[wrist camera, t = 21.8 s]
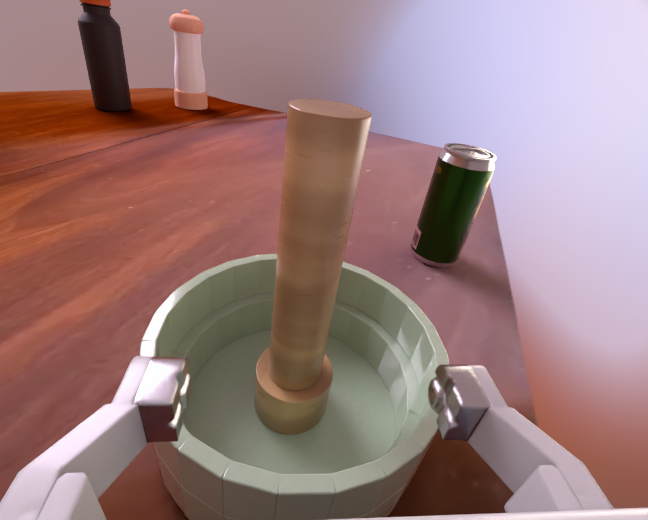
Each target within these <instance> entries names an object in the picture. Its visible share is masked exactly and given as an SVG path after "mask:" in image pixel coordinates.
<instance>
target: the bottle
mask: <svg viewBox="0 0 648 520" xmlns="http://www.w3.org/2000/svg"><path fill="white" fill-rule="evenodd" d="M80 2H82V4H81V5H82V6H83V10H84V13H83V14H82V15H81V17H80V18H79V19H78V25H79V30H80V35H81V40H82V45H83V50H84V55H85V60H86V65H87V69H88V75H89V80H90V84H91V89H92V94H93V99H94V104H95V107H96V108H97V109H100V110H104V111H112V112H121V111H128V110H130V109H131V108H132V105H131V98H130V92H129V85H128V79H127V72H126V65H125V58H124V52H123V45H122V38H121V31H120V27H119V25H118V23H117V22H115V20H114V19H113V18H112V17H111V15H110V8H109V6H111V3H110V0H80Z"/></svg>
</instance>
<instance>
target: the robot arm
mask: <svg viewBox="0 0 648 520" xmlns="http://www.w3.org/2000/svg"><path fill="white" fill-rule="evenodd" d="M188 370H189V359H188V358H172V357H149V356H135V357H134V358H133V359H132V361H131V363H130V365H129V367H128V369H127V371H126V373H125V376H124V378H123V380H122V382H121V384H120V386H119V388H118V390H117V393H116V395H115V397H114V399H113V401H112V403H111V404H105V405H104V406H103V407H101V408H100V409H99V410H97V411H96V412H95V413H94V414H92V415H91V416H90V417H88V418H87V419H86V420H85V421H83V422H82V423H81V424H79V425H78V426H77V427H76V428H74V429H73V430H72V431H71V432H69V433H68V434H67V435H65V436H64V437H63V438H62V439H60V440H59V441H58V442H56V443H55V444H54V445H53V446H51V447H50V448H49V449H47V450H46V451H45V452H44V453H42V454H41V455H40V456H38V457H37V458H36V459H35V460H33V461H32V462H31V463H29V464H28V465H27V466H26V467H24V468H23V469H22V470H21V471H19V472H18V474H17V476H16V477H15V479H14V481H13V482H12V484H11V486H10V487H9V489H8V491H7V492H6V494H5V496H4V497H3V499H2V500H1V502H0V520H106V518H105V515H104V513H103V511H102V508H101V506H100V504H99V502H98V498H99V497H100V496H101V495H102V494H103V493H104V492H105V490H106V489H107V488H108V487H109V486H110V485H111V484H112V483H113V482H114V481H115V479H116V478H117V477H118V476H119V475H120V474H121V473H122V472H123V471H124V469H125V468H126V467H127V466H128V465H129V464H130V463H131V462H132V461H133V459H134V458H135V457H136V456H137V455H138V454H139V453H140V452H141V451H142V449H143V448H144V447H145V446H146V445H147V442H172V441H178V439H179V435H180V431H181V428H182V424H183V412H182V411H183V410H184V409H185V408H186V407H187V405H188V401H189V397H190V390H191V376H190V375H189V374H188ZM435 373H436V376H437V377H435V378H434V379H432V380H431V381H430V384H429V386H428V399H429V403H430V406H431V409H433V410H434V411H435V412H436V413H437V414H438V417H437V420H436V422H437V425H438V427H439V430H440V433H441V435H442V438H443V440H464V441H468V443H469V444H470V445H471V447H472V448H473V449H474V450H475V451H476V452H477V453H478V454H479V455H480V457H481V458H482V459H483V460H484V461H485V462H486V463H487V464H488V465H489V466H490V468H491V469H492V470H493V471H494V472H495V473H496V474H497V475H498V476H499V478H500V479H501V480H502V481H503V482H504V483H505V484H506V485H507V486H508V487H509V489H510V490H511V491H512V492H513V493H514V495H513V496H512V497H511V498H510V499H509V500H508V501H507V502H506V504H505V506H504V509H505V511H506V513H490V514H463V515H435V516H408V517H382V518H355V519H328V520H648V508H627V509H614V508H613V507H612V505H611V504H610V502H609V501H608V499H607V498H606V496H605V495H604V493H603V492H602V491H601V489H600V487H599V486H598V484H597V483H596V481H595V480H594V478H593V477H592V475H591V474H590V472H589V471H588V469H587V468H586V466H585V465H584V463H582V462H581V461H580V460H579V459H577V458H576V457H575V456H573V455H572V454H571V453H569V452H568V451H567V450H566V449H564V448H563V447H562V446H561V445H559V444H558V443H557V442H556V441H554V440H553V439H552V438H550V437H549V436H548V435H547V434H545V433H544V432H543V431H542V430H540V429H539V428H538V427H536V426H535V425H534V424H533V423H531V422H530V421H529V420H528V419H526V418H525V417H524V416H522V415H521V414H520V413H519V412H517V411H516V410H515V409H514V408H508V406H507V404H506V402H505V401H504V399H503V397H502V396H501V394H500V392H499V390H498V389H497V387H496V385H495V383H494V382H493V380H492V378H491V376H490V375H489V373H488V371H487V370H486V368H485V367H484V366H479V365H439V366H438V367H437V368H436V370H435Z"/></svg>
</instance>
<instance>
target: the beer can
mask: <svg viewBox="0 0 648 520" xmlns="http://www.w3.org/2000/svg"><path fill="white" fill-rule="evenodd" d="M496 158H497V157H496V155H494V154H493V153H491V152H489V151H487V150H484V149H481V148H478V147H474V146H469V145H465V144H456V143H449V144H445V146H444V150H443V151H442V152H441V153H440V154H439V157H438V160H437V163H436V167H435V170H434V173H433V176H432V179H431V182H430V186H429V189H428V192H427V195H426V198H425V202H424V205H423V208H422V211H421V214H420V218H419V221H418V224H417V227H416V230H415V233H414V237H413V240H412V243H411V249H412V253H413V255H414V256H415V258H416V259H418V260H419V261H421V262H423V263H425V264H427V265H430V266H433V267H440V268H443V267H449V266H451V265H452V264H453V263H454V262H456V261H457V260H458V258H459V256H460V253H461V251H462V248H463V246H464V243H465V241H466V239H467V236H468V234H469V231H470V229H471V226H472V224H473V221H474V219H475V216H476V214H477V212H478V209H479V207H480V204H481V202H482V199H483V197H484V194H485V192H486V190H487V187H488V185H489V182H490V180H491V177H492V175H493V172H494V170H495V165H494V161H495V160H496Z"/></svg>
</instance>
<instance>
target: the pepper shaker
mask: <svg viewBox="0 0 648 520" xmlns="http://www.w3.org/2000/svg"><path fill="white" fill-rule="evenodd" d="M182 13H183V14H173V15H171V17H170V19H169V24H170V27H171V29H173V30H174V43H175V65H174V77H175V86H176V88H175V89H174V96H175V105H176V106H177V107H179V108H183V109H191V110H203V109H207V108H208V104H207V92H206V91H205V73H204V67H203V62H202V57H201V37H200V34H201V33H203V30H204V26H203V23H202V21H201V20H200V19H199V18H197V17H196V16H192V15H189V14H190V12H189V11H188V10H182Z"/></svg>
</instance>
